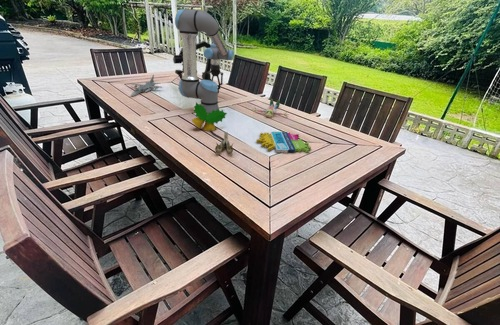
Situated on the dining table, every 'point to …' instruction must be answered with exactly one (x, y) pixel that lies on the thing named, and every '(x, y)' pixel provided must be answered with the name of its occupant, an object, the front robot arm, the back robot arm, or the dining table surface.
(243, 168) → the dining table surface
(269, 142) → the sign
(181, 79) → the back robot arm
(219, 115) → the ornament
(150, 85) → the airplane
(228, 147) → the jawbone
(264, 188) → the dining table surface
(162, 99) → the dining table surface
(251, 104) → the dining table surface
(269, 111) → the toy
